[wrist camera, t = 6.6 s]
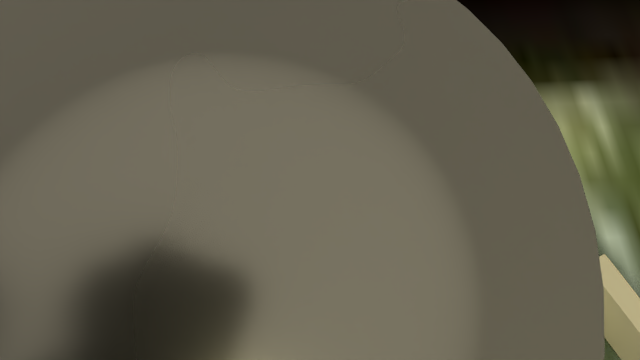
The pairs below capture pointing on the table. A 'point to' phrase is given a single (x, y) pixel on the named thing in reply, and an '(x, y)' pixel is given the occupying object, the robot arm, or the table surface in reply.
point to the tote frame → (620, 312)
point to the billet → (283, 187)
